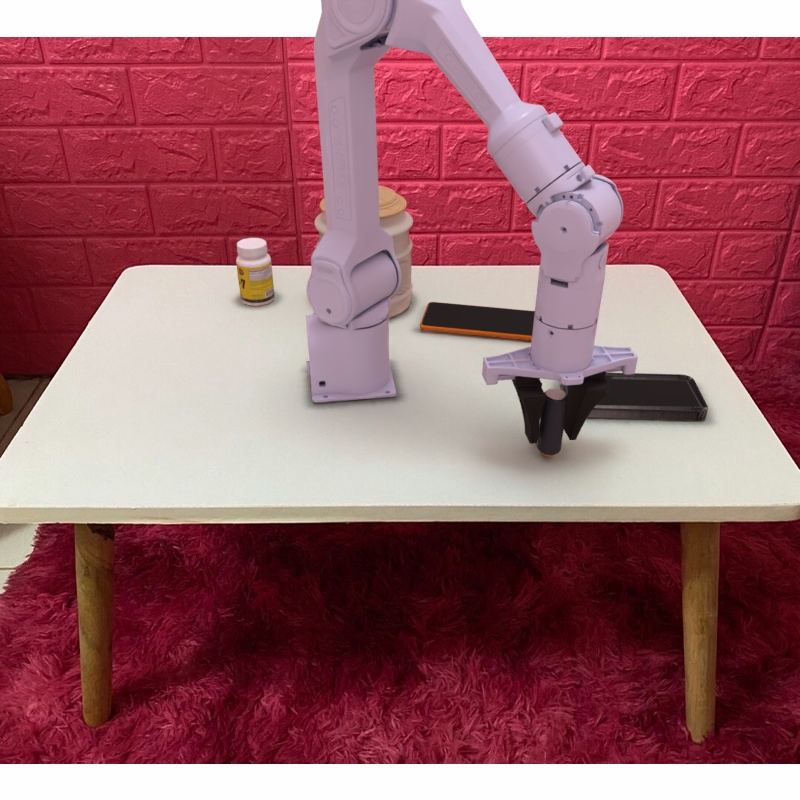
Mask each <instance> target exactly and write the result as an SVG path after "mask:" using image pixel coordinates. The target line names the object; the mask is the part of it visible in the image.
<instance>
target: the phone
mask: <svg viewBox="0 0 800 800" xmlns="http://www.w3.org/2000/svg"><path fill="white" fill-rule="evenodd" d="M605 378H606V380H607V381H608V383H609V390H608V393H607V395H606V396H605V397H604V398H602V399H601V400H600V401H599V403H598V404H597V405H596V406H595V407H594V408H593V410H592V411H591V412H590V414H589V415H588V417H587V418H597V419H598V418H599V419H631V420H633V419H634V420H661V421H662V420H663V421H664V420H666V421H668V420H670V421H673V420H674V421H704V420H705V419H706V417H707V414H708V412H709V411H708V410H709V406H708V404H707V402H706V400H705V398H704V396H703V394H702V393H701V390H700V388H699V386H698V384H697V383H696V381H695V379H694V378H693V377H691V376H690V375H687V374H682V373H681V374H680V373H679V374H678V373H677V374H676V373H675V374H674V373H643V372H642V373H641V372H640V373H639V372H638V373H637V372H635V374H629V375H625V374H623V373H622V372H606V375H605ZM560 388H561V390H563V391H564V392H565V393H566V394H567V395H568V385H563V384H562V383H561V382H560Z"/></svg>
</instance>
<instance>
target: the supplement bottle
mask: <svg viewBox="0 0 800 800" xmlns="http://www.w3.org/2000/svg"><path fill="white" fill-rule="evenodd" d="M267 243H268V242H267V241H266V239H263V238H260V237H248V238H242V239H240V240H238V241H237V243H236V252H237V257H236V259H235V264H236V272H237V279H238V287H239V295H240V296H239V297H240V300H241V302H242V303H243V304H245V305H247V306H249V307H250V306H251V307H260V306H264V305H268V304H270V303H272V302H273V301H274V300H275V298H276V297H275V295H276V294H275V286H274V276H273V265H272V258H271V256H270V254H269V253H268V244H267Z"/></svg>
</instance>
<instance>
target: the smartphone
mask: <svg viewBox="0 0 800 800" xmlns="http://www.w3.org/2000/svg"><path fill="white" fill-rule="evenodd" d="M534 314H535V310H529V309H526V310H525V309H517V308H507V307H505V308H504V307H494V306H484V305H483V306H482V305H472V304H460V303H452V302H451V303H450V302H439V301H430V302H428V303H427V304H426V306H425V310H424V313H423V315H422V318H421V321H420V323H419V328H420V329H421V330H423V331H429V332H439V333H450V334H462V335H471V336H481V337H490V338H502V339H510V340H511V339H512V340H523V341H531V342H532V332H533V323H534Z"/></svg>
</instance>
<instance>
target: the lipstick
mask: <svg viewBox="0 0 800 800" xmlns="http://www.w3.org/2000/svg"><path fill="white" fill-rule="evenodd" d="M544 393H545V395H546V397H547V398H546V400H545V403H544V406H543V409H542V413H541V417H540V424H539V437H538V441H537V443H536V449H537V450H538V451H539V453H540V454H541V455H542V456H544V457H548V458H549V457H554V456H556V455H557V454H559V453H560V452H561V450H562V444H563V436H564V423H565V416H566V409H567V402H568V395H567V394H566V393H565V392H564V391H563V390H562V389H560V388H555V387H554V388H549V389H547V390H545V391H544Z"/></svg>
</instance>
